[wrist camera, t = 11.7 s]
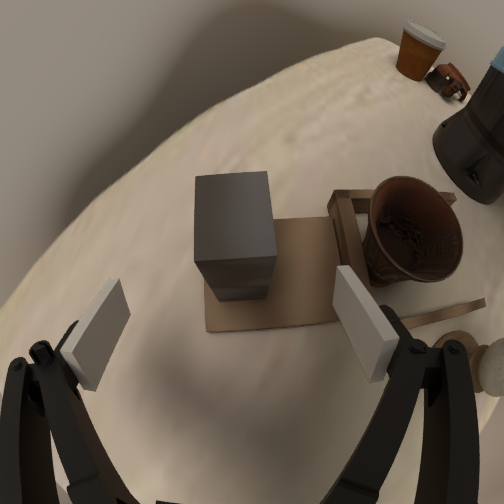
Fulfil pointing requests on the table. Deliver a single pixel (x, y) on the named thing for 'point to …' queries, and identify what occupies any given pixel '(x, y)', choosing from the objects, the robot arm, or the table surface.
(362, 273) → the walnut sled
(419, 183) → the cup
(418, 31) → the disposable coffee cup
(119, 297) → the robot arm
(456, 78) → the dark brown arched piece
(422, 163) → the table surface
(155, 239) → the table surface
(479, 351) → the candle holder
